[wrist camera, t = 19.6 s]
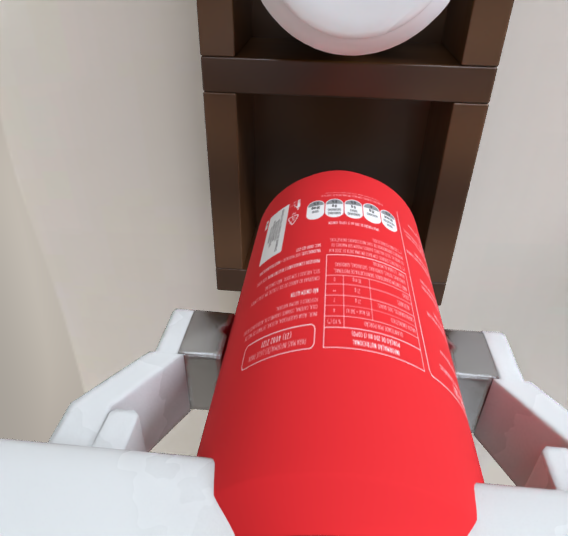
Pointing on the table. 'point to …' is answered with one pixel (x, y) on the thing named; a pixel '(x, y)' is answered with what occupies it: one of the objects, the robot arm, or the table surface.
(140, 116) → the table surface
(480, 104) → the divided wooden box
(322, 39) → the supplement bottle
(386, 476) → the beverage can
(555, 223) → the table surface
